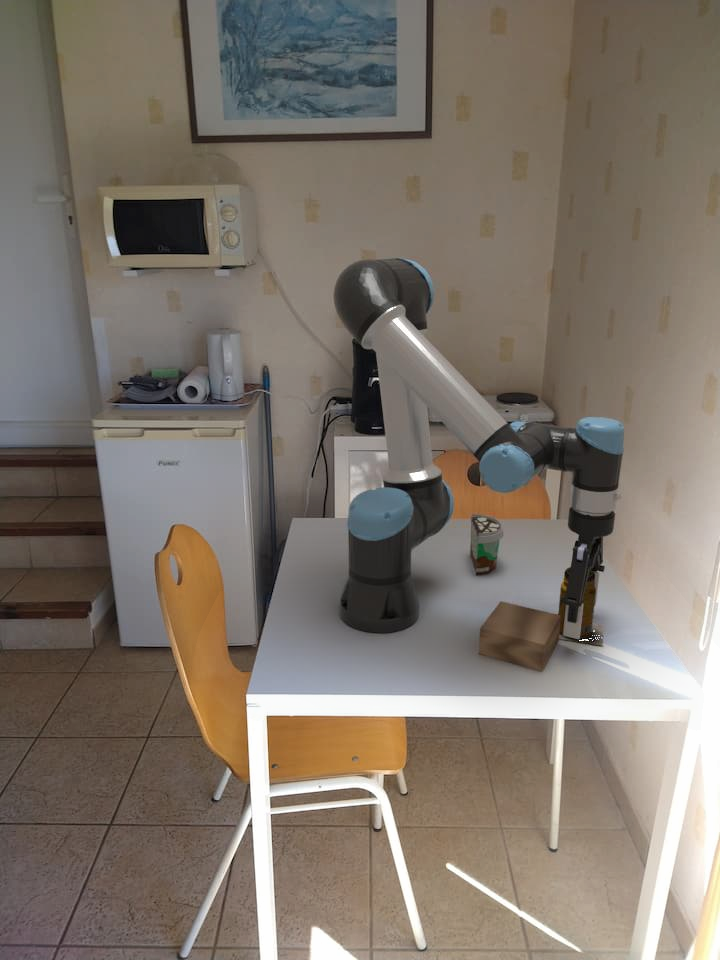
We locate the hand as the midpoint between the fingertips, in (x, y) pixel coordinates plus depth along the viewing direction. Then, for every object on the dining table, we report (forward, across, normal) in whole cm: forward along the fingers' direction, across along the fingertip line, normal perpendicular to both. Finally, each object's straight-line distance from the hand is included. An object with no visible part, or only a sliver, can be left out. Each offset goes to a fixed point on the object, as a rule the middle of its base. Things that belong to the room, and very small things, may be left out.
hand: (580, 619), depth 128 cm
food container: (+3, +19, +24) cm, 31 cm away
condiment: (+3, 0, 0) cm, 3 cm away
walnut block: (+3, -10, +8) cm, 13 cm away
